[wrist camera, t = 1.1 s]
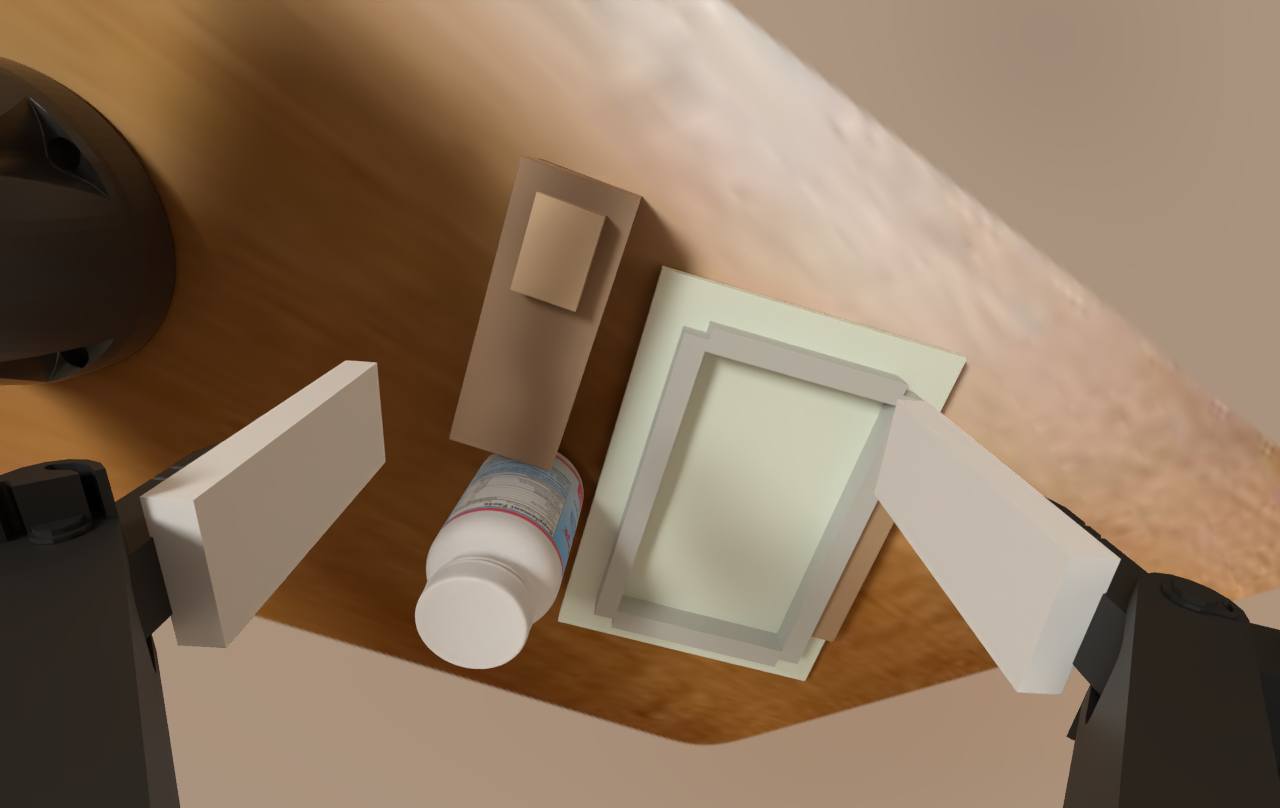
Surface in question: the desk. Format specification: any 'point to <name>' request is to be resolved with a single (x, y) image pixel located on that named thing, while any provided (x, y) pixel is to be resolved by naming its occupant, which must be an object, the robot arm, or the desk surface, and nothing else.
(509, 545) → the pill bottle
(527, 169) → the brown block
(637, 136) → the desk surface
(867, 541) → the tray
